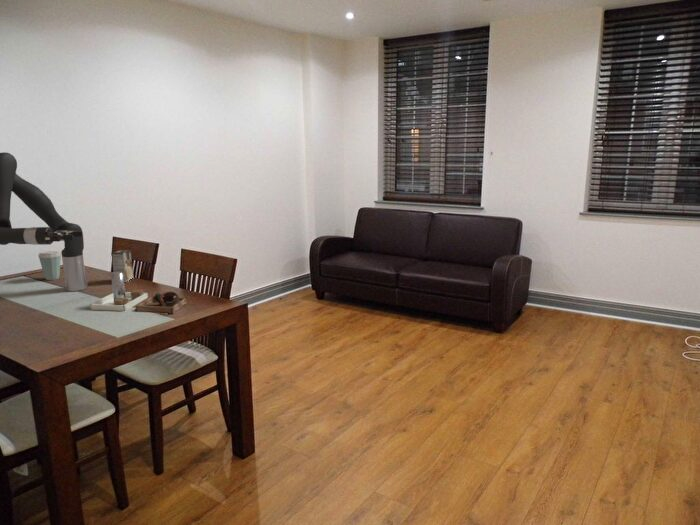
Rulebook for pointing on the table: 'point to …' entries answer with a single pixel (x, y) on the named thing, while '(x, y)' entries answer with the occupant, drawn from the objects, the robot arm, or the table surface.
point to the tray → (108, 304)
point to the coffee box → (123, 263)
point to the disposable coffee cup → (50, 264)
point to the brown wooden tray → (144, 307)
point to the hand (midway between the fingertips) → (77, 235)
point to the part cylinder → (118, 285)
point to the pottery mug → (167, 299)
